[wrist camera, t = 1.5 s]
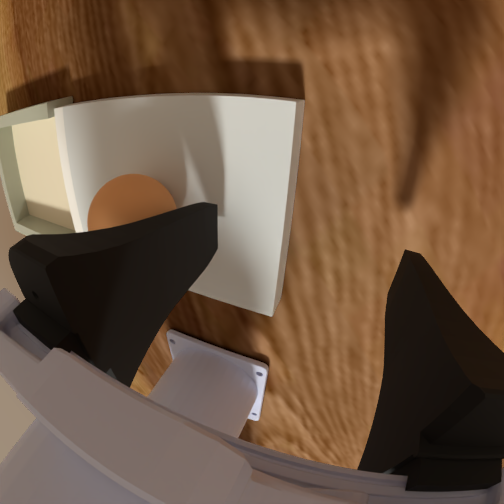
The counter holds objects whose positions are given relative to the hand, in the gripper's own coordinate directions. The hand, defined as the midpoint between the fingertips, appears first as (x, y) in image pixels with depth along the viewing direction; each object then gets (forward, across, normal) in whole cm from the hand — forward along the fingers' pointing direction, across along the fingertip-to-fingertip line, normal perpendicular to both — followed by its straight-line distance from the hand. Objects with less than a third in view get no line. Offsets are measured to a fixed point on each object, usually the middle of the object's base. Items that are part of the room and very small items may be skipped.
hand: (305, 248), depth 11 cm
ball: (-1, +7, 0) cm, 7 cm away
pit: (+2, +21, 0) cm, 21 cm away
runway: (+2, +8, 0) cm, 8 cm away
